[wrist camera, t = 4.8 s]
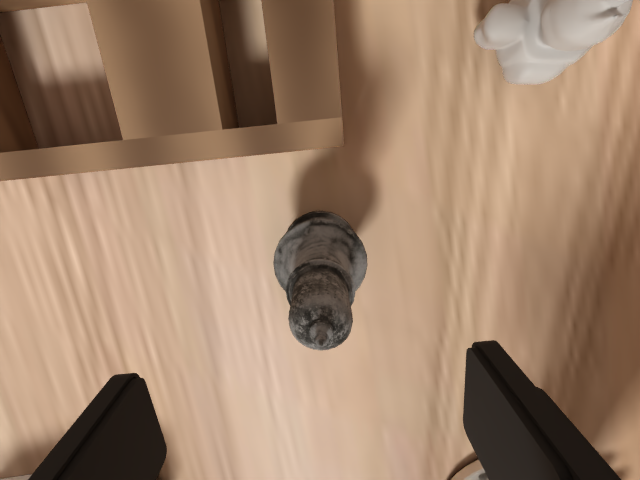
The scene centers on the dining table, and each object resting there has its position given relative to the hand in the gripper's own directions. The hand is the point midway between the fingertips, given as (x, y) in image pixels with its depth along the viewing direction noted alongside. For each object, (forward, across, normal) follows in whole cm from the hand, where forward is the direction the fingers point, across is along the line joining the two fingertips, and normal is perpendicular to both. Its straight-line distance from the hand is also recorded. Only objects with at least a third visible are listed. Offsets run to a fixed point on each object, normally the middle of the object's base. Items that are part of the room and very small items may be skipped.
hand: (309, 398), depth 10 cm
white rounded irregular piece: (+16, -14, -11) cm, 23 cm away
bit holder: (+16, +8, -12) cm, 21 cm away
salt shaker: (+15, 0, +1) cm, 15 cm away
